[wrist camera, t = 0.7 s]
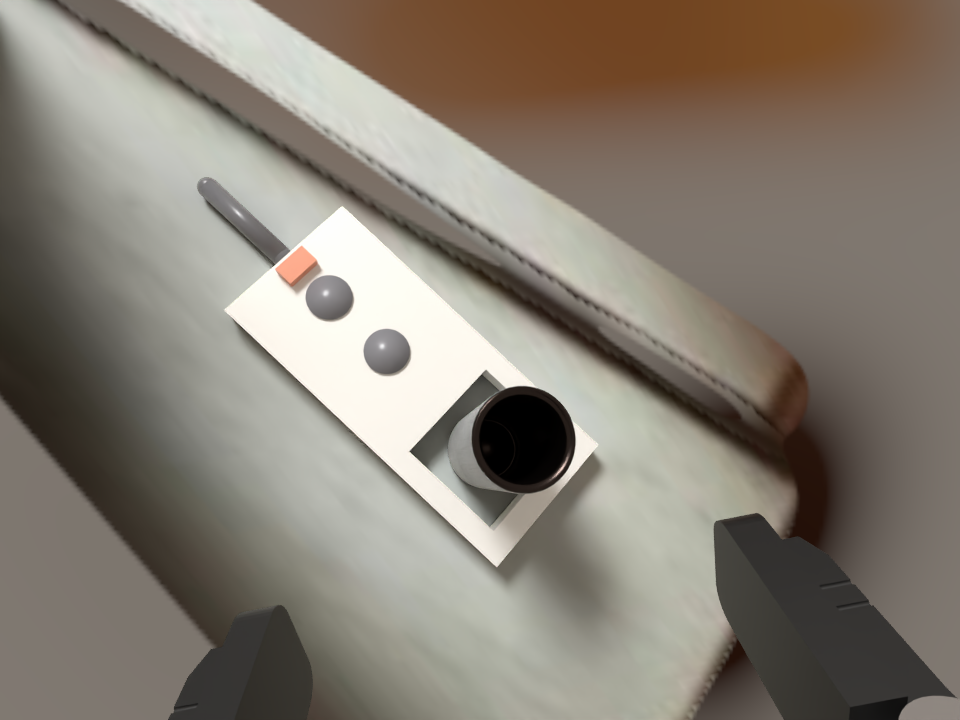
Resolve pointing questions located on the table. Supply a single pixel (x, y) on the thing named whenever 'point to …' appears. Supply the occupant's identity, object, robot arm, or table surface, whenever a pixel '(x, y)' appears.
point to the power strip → (378, 353)
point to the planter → (514, 442)
